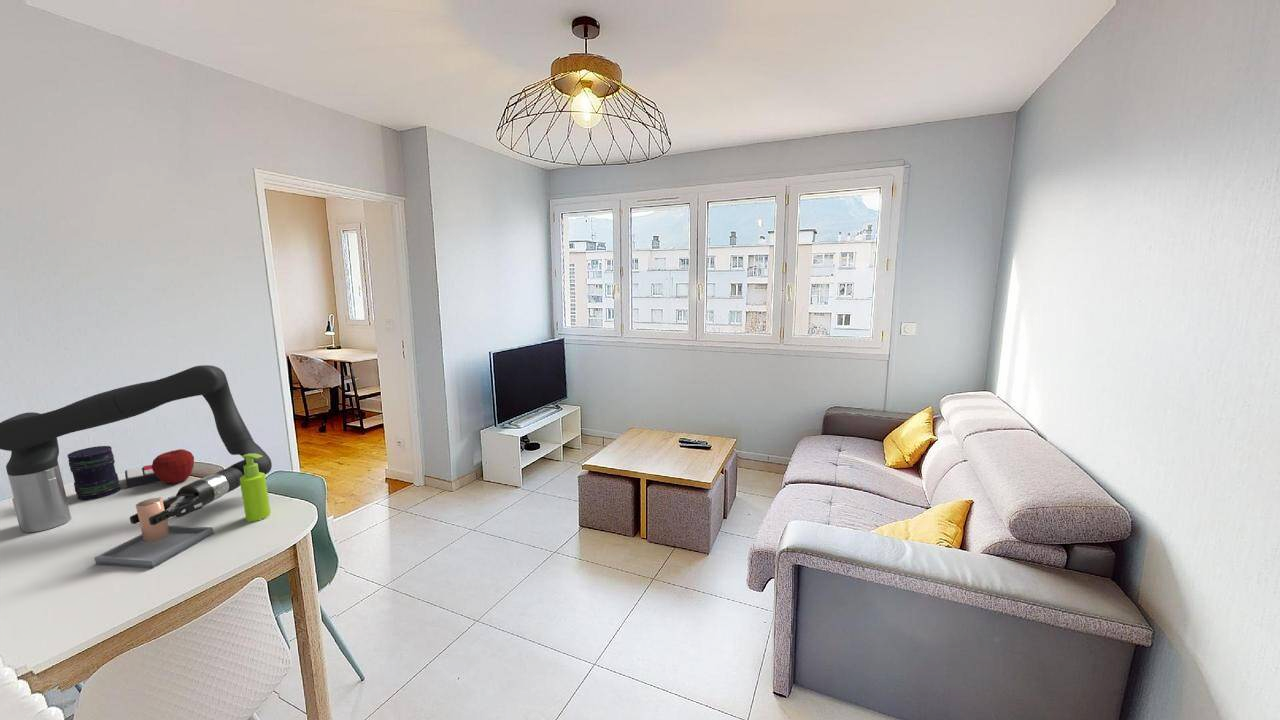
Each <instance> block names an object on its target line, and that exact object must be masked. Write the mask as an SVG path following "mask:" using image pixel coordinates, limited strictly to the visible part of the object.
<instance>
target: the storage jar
mask: <svg viewBox="0 0 1280 720" xmlns="http://www.w3.org/2000/svg"><path fill="white" fill-rule="evenodd" d="M112 449H113V448H112V446H111V445H97V446H91V447H87V448H82V449H78V450H75V451H72V452H69V453H68V454H67V455H66V456H67V459H68V466H69V470H70V473H72V476H73V480H74V482H73V486H74V491H75V493H76V496H77V497H76V498H77V500H78V501H92V500H93V501H94V500H98V499H102V498H106V497H109V496H112V495H114V494H116V493H118V492H119V491H121V487H120V480H119V476H118V473H117V472H116V469H115V468H116V467H115V461H116V460H115V457H114V454H113V451H112Z"/></svg>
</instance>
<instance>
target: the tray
mask: <svg viewBox="0 0 1280 720" xmlns="http://www.w3.org/2000/svg"><path fill="white" fill-rule="evenodd" d="M168 528H169V532H170V534H169V535H168V536H166V537H165V538H162V539H160V540H157V541H152V542H144V540H143V536H142V533H141V534H138V535H137V536H135V537H133V538H130V539H129V540H127V541H125V542H123V543H120V544H119V545H117V546H115V547H113V548H110V549H109V550H107V551H104V552H103V553H100V554H98V555H97V556H94V562H95V565H96V566H97V565H98V566H115V567H129V568H131V567H133V568H143V569H144V568H146V569H155V568H157V567H158V566H159V565H161V564H163V563H165V562H167V561H168V560H170V559H172V558H174V557H176V556H177V555H179V554H181V553H182V552H185V551H186V550H188V549H189V548H191V547H193V546H195V545H197V544H198V543H200V542H202V541H204V540H206V539H207V538H209V537H211V536H213V535H214V534H215V533H214V529H213V527H211V526H210V527H208V526H195V525H194V526H193V525H191V526H190V525H174V524H171V525H170V524H168Z"/></svg>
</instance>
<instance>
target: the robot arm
mask: <svg viewBox="0 0 1280 720" xmlns="http://www.w3.org/2000/svg"><path fill="white" fill-rule="evenodd" d="M229 385H230V384H229V382H228V379H227V375H226V373H225V372H224V371H223V370H222V369H221V367H218V366H215V365H208V364H207V365H206V364H203V365H196V366H193V367H190V368H187V369H185V370H182V371H179V372H177V373H174V374H171V375H168V376H166V377H163V378H159V379H155V380H152V381H145V382H139V383H135V384H130V385H127V386H122V387H121V386H120V387H117V388H113V389H110V390H108V391H103V392H99V393H97V394H94V395H91V396H87V397H86V398H85V397H84V398H83V399H80V400H78V401H77V400H76V401H75V402H72V403H70V404H68V405H66V406H63V407H60V408H57V409H54V410H51V411H47V412H43V413H39V412H30V411H29V412H25V413H24V412H23V413H19V414H16V415H15V416H12V417H9V418H8V419H5V420H2V421H1V422H0V450H2V451H7V452H11V453H10V454H11V455H10V457H9V459H8V461H7V463H6V465H5V469H6V473H7V476H8V480H9V484H10V487H11V492H12V496H13V497H12V504H13V507H14V512H15V515H16V519H17V522H18V526H19V527H18V528H19V529H20V530H21V531H22V532H24V533H34V532H35V533H37V532H41V531H46V530H50V529H54V528H56V527H59V526H62V525H64V524H66V523H68V522H69V521H70V520H71V519H72V516H71V512H70V507H69V502H68V498H67V494H66V490H65V485H64V482H63V478H62V477H63V476H62V473H61V469H60V465H59V461H58V460H59V459H58V458H59V454H60V448H59V447H60V446H59V442H58V438H59V437H62V436H64V435H65V436H66V435H68V434H72V433H75V432H79V431H84V430H89V429H92V428H97V427H101V426H105V425H109V424H113V423H116V422H120V421H123V420H126V419H129V418H132V417H133V418H134V417H136V416H139V415H142V414H144V413H147V412H149V411H151V410H154V409H156V408H159V407H160V406H163V405H165V404H167V403H170V402H174V401H178V400H179V401H180V400H183V399H187V398H192V397H197V396H202V397H203V398H204V399H205V401H206V403H208V406H209V407H210V409H211V412H212V415H213V417H214V422H215V427H216V429H217V432H218V435H219V437H220V439H221V441H222V442H223V446H224V447H225V448H226V451H228V454H230V455H232V456H234V455H236V456H237V455H238V456H240V457H242V456H243V455H246V454H248V453H254V454H259V455H262V456H263V457H261V458H259V459H253V461H254V463H257V464H258V469H259V472H262V473H264V474H265V476H266V475H268V474H269V473H270V472H271V470H272V467H273V465H272V460H271V458H270V456H269V455H268V454H267V453H266V452H265V450H264V449H263V448H262V447H260V445H258V444H257V443H256V442H255V440H254V438H253V436H252V435H251V433H250V431H249V429H248V427H247V426H246V424H245V422H244V420H243V418H242V416H241V414H240V412H239V410H238V408H237V406H236V404H235V400H234V398H233V395H232V392H231V389H230V386H229ZM245 465H246V458H243V459H242V460H240V461H237V462H236V463H234V464H231V465H230V466H228V467H227V468H223V469H221V470H219V471H217V472H214V473H213V474H210V475H207V476H204V477H201V478H199V479H196V480H194V481H193V482H190V483H188V484H185V485H184V486H182V487H180V488H179V490H178V491H177V492H176V494H175V495H172V496H169V497H168V498H166V499H162V500H163V504H164V509H165V511H162V512H160V513H158V514H156V515H154V516H152V517H150V518H149V522H150V525H155V524H157V523H159V522H161V521H163V520H165V519H167V520H168V519H173V518H174V517H176V519H177V518H181V517H182V518H183V516H186V515H189V514H192V513H194V512H196V511H198V510H199V511H200V510H201V509H203V507H205V506H207V505H208V504H210V503H212V502H214V501H216V500H218V499H220V498H222V497H223V496H224V495H226V494H228V493H231V492H232V491H235V490H236V489H237V488H239V487H241V485H240V478H241V477H242V476H244V468H243V466H245ZM158 498H162V497H158ZM129 521H130V524H132V525H135V524H138V523H140V522H139V518H138V514H137V513H135V514H133V515H131V516H129Z"/></svg>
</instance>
